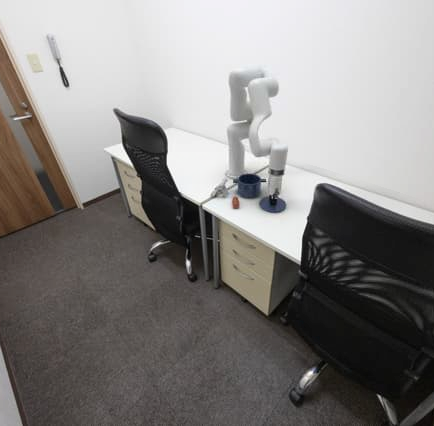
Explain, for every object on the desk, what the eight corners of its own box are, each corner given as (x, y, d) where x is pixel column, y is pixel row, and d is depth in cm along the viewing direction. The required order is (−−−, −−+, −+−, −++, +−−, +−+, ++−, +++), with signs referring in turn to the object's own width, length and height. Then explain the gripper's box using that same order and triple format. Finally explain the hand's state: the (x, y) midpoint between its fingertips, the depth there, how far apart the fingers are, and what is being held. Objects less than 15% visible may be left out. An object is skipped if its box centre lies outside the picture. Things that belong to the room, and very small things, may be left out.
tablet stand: (216, 189, 136) (216, 176, 131) (229, 191, 134) (229, 178, 129) (211, 196, 130) (210, 183, 125) (224, 199, 127) (224, 185, 122)
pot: (232, 186, 138) (232, 173, 133) (263, 186, 137) (264, 173, 132) (233, 198, 128) (233, 185, 122) (266, 198, 127) (267, 184, 122)
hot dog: (232, 200, 126) (232, 195, 124) (238, 200, 126) (238, 195, 124) (232, 209, 120) (232, 204, 118) (239, 209, 120) (239, 204, 118)
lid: (257, 198, 127) (258, 188, 124) (282, 197, 127) (284, 187, 124) (260, 213, 117) (261, 203, 113) (288, 212, 116) (290, 202, 113)
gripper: (266, 163, 117) (263, 194, 128) (271, 178, 104) (267, 212, 115) (281, 162, 116) (277, 194, 127) (288, 178, 104) (283, 212, 115)
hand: (272, 202), depth 121 cm, fingers closed on lid, 2 cm apart
